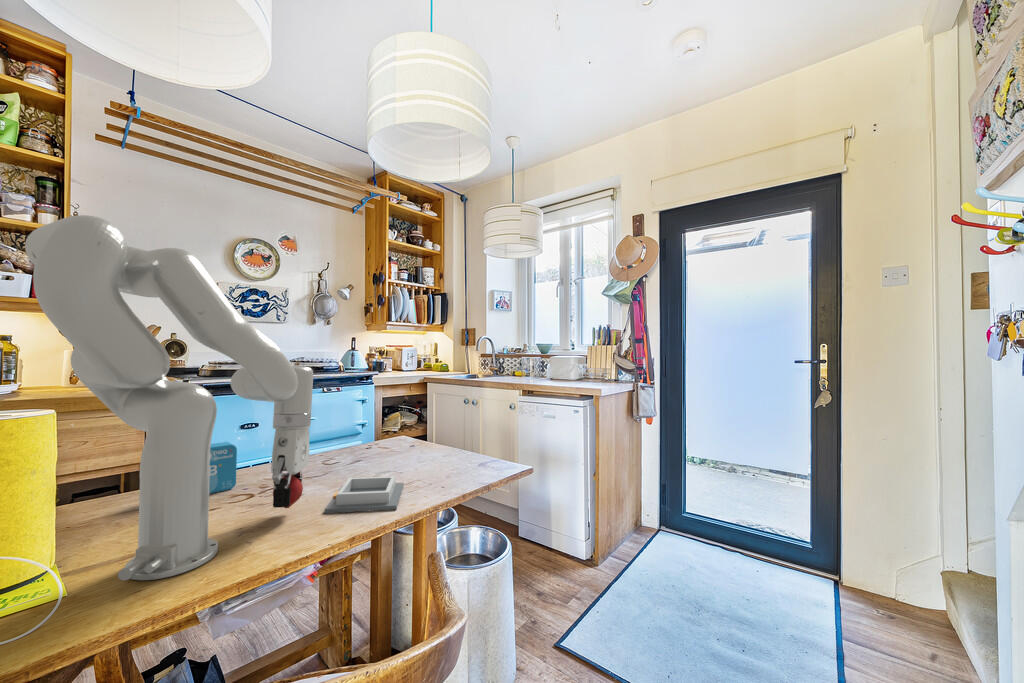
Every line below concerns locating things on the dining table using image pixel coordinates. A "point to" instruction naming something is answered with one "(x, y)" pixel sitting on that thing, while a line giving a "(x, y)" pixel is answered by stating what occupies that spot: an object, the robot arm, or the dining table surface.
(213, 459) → the data package
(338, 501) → the tray
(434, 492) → the dining table surface
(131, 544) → the dining table surface
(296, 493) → the onion
